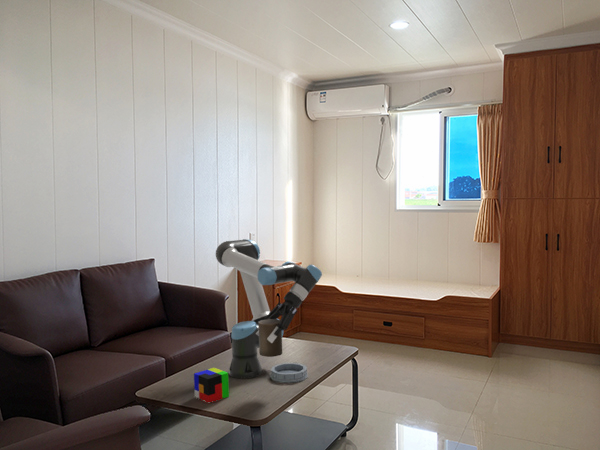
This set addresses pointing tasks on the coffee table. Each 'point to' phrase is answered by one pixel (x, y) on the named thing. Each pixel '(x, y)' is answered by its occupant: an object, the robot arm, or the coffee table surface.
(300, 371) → the candle dish
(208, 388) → the puzzle toy
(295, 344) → the coffee table surface
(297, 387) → the coffee table surface
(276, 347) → the pillar candle
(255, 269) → the robot arm
